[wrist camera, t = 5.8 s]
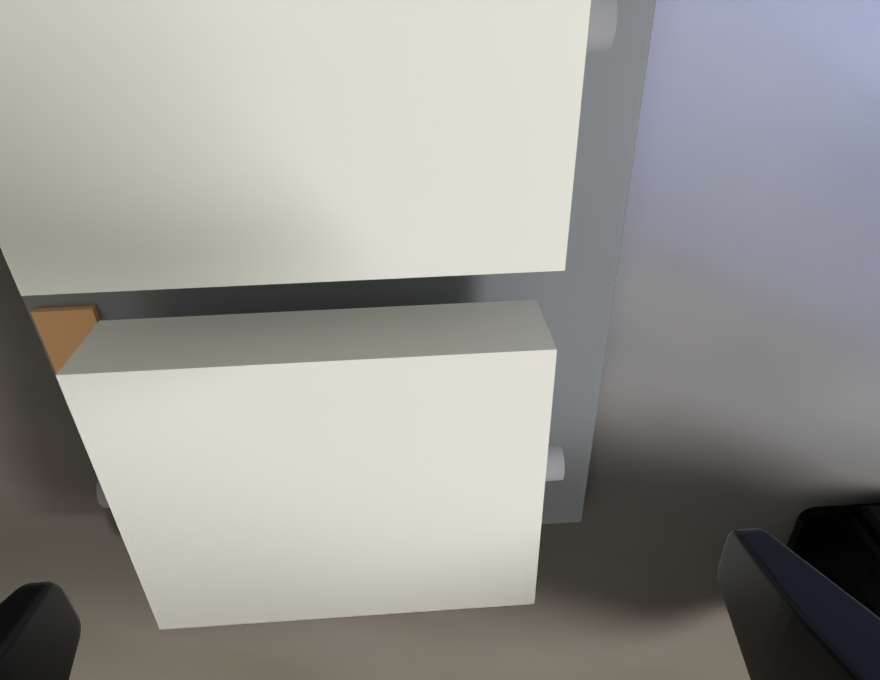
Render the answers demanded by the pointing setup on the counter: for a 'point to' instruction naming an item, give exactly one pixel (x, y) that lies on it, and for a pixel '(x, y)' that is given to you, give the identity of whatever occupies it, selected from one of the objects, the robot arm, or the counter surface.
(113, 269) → the rocker
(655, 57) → the counter surface
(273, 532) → the block
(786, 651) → the robot arm
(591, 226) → the switch base
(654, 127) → the counter surface
